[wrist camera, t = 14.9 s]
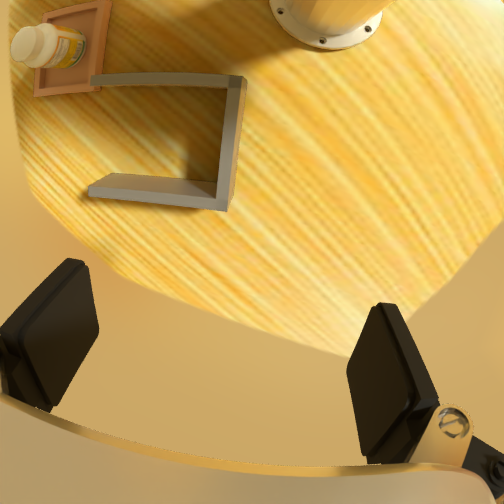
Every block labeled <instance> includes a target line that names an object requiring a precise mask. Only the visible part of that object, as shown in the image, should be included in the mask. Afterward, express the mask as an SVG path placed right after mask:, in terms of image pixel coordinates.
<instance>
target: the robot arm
mask: <svg viewBox="0 0 504 504" xmlns="http://www.w3.org/2000/svg"><path fill="white" fill-rule="evenodd" d="M395 1H396V0H269V2H270V7H271V10H272V13H273V15H274V17H275V18H276V20H277V22H278V23H279V24H280V25H281V26H282V28H283V29H284V30H285V31H286V32H288V33H289V34H290V35H291V36H292V37H294V38H296V39H297V40H299V41H301V42H303V43H305V44H308V45H310V46H313V47H317V48H321V49H330V50H338V49H346V48H350V47H354V46H356V45H358V44H360V43H362V42H364V41H365V40H367V39H368V38H370V37H371V36H372V35H373V34H374V33H375V31H376V30H377V28H378V27H379V25H380V22H381V19H382V15H383V10H384V9H385V8H387V7H388V6H389V5H391V4H392V3H394V2H395ZM501 1H502V2H503V3H504V0H501ZM279 11H281V12H283V14H279V13H278V12H279ZM364 29H367V30H368V32H366V31H365V30H364ZM320 40H323V42H324V43H323V44H321V43H320V42H319V41H320ZM98 334H99V324H98V320H97V315H96V309H95V304H94V299H93V293H92V287H91V280H90V274H89V268H88V266H86V265H85V263H84V262H83V261H82V260H77V259H72V258H67V259H66V260H64V261H63V262H62V263H61V264H60V265H59V266H58V267H57V268H56V269H55V270H54V271H53V272H52V273H51V274H50V275H49V276H48V277H47V278H46V279H45V280H44V281H43V282H42V283H41V284H40V285H39V286H38V287H37V288H36V289H35V290H34V291H33V292H32V293H31V294H30V295H29V296H28V297H27V299H26V300H25V301H24V302H23V303H22V304H21V305H20V306H19V307H18V308H17V309H16V310H15V311H14V312H13V314H12V315H11V316H10V317H9V318H8V319H7V320H6V321H5V323H4V324H3V325H2V326H1V327H0V504H504V454H502V453H501V452H499V451H498V450H496V449H494V448H493V447H491V446H489V445H488V444H486V443H485V442H483V441H481V440H480V439H478V438H477V437H475V436H473V435H472V434H473V430H474V426H473V421H472V419H471V417H470V415H469V414H468V413H467V412H466V410H464V409H463V408H461V407H460V406H458V405H455V404H449V403H447V404H442V405H440V403H439V401H438V398H439V397H438V395H437V392H436V390H435V387H434V385H433V383H432V380H431V378H430V376H429V373H428V371H427V369H426V366H425V364H424V362H423V360H422V358H421V355H420V353H419V351H418V349H417V346H416V344H415V342H414V340H413V338H412V336H411V334H410V331H409V329H408V327H407V325H406V323H405V321H404V319H403V317H402V315H401V313H400V311H399V309H398V307H397V305H396V304H391V303H381V302H380V303H378V304H377V305H376V306H373V307H372V308H371V310H370V312H369V315H368V317H367V320H366V322H365V325H364V327H363V330H362V332H361V334H360V337H359V339H358V342H357V344H356V346H355V349H354V351H353V353H352V355H351V358H350V360H349V362H348V365H347V371H346V373H347V378H348V383H349V388H350V393H351V398H352V404H353V408H354V414H355V420H356V425H357V431H358V436H359V442H360V448H361V453H362V455H363V456H366V458H367V464H380V463H381V465H366V466H331V467H330V466H329V467H314V466H282V465H267V464H256V463H246V462H237V461H228V460H221V459H214V458H208V457H202V456H195V455H190V454H185V453H180V452H175V451H169V450H165V449H160V448H156V447H152V446H147V445H144V444H140V443H136V442H132V441H129V440H125V439H122V438H118V437H115V436H111V435H108V434H105V433H102V432H99V431H96V430H92V429H90V428H87V427H83V426H81V425H78V424H75V423H72V422H70V421H67V420H64V419H62V418H59V417H57V416H54V415H52V414H49V413H50V412H51V410H52V408H53V406H57V405H58V404H59V402H60V401H61V399H62V397H63V395H64V393H65V392H66V390H67V388H68V386H69V384H70V383H71V381H72V379H73V377H74V376H75V374H76V372H77V370H78V368H79V367H80V365H81V363H82V362H83V360H84V358H85V357H86V355H87V353H88V352H89V350H90V348H91V347H92V345H93V343H94V342H95V340H96V338H97V337H98ZM35 407H37V408H38V409H37V408H35ZM40 409H41V410H40ZM42 410H43V411H42ZM44 411H45V412H44ZM47 412H48V413H47Z"/></svg>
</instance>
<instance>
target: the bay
mask: <svg viewBox="0 0 504 504" xmlns="http://www.w3.org/2000/svg"><path fill="white" fill-rule="evenodd" d="M90 86H190V87H208V88H221V89H228V91H227V100H226V108H225V116H224V125H223V134H222V143H221V153H220V163H219V173H218V183H215V182H206V181H197V180H188V179H178V178H168V177H157V176H145V175H133V174H119V173H111V174H109V175H107V176H105V177H103V178H102V179H100V180H98V181H96V182H94V183H93V184H91V185H89V186H88V196H89V197H100V198H110V199H120V200H130V201H140V202H149V203H158V204H167V205H176V206H184V207H193V208H201V209H209V210H217V211H225V212H227V210H228V208H229V205H230V202H231V200H232V197H233V195H234V186H235V177H236V169H237V160H238V151H239V143H240V135H241V127H242V119H243V111H244V103H245V95H246V87H247V80H246V79H245V78H244V77H243V76H234V75H222V74H206V73H183V72H138V73H115V74H100V75H91V78H90Z"/></svg>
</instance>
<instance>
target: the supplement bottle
mask: <svg viewBox="0 0 504 504" xmlns="http://www.w3.org/2000/svg"><path fill="white" fill-rule="evenodd" d="M86 46H87V42H86V37H85V36H84V34H83V33H82V32H81V31H79V30H75V29H71V28H67V27H63V26H58V25H53V24H49V23H42V24H39V25H37V26H35V27H33V26H26V27H23V28H22V29H20V30H19V31H18V32H17V34H16V35H15V37H14V38H13V40H12V43H11V48H10V53H11V57H12V58H13V60H15V61H17V62H24V63H25V64H26V65H27V66H29V67H31V68H62V69H66V68H71V67H73V66H74V65H76V64H77V63H78V62H79V61H80V60H81V59H82V57H83V56H84V53H85V51H86Z"/></svg>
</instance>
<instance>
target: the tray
mask: <svg viewBox="0 0 504 504" xmlns="http://www.w3.org/2000/svg"><path fill="white" fill-rule="evenodd" d="M111 8H112V2H111V1H109V0H97V1H92V2H87V3H82V4H78V5H73V6H69V7H65V8H61V9H57V10H53V11H50V12H46V13H43V17H42V22H41V24H42V23H49V24H53V25H58V26H63V27H67V28H71V29H75V30H79V31H81V32H82V33H83V34H84V36H85V37H86V42H87V46H86V51H85V53H84V56H83V57H82V59H81V60H80V61H79V62H78V63H77V64H76V65H74V66H73V67H71V68H66V69H62V68H35V78H34V92H33V97H40V96H48V95H57V94H66V93H77V92H91V91H101V86H90V78H91V75H100V74H102V71H103V62H104V53H105V45H106V38H107V31H108V25H109V19H110V13H111Z"/></svg>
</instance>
